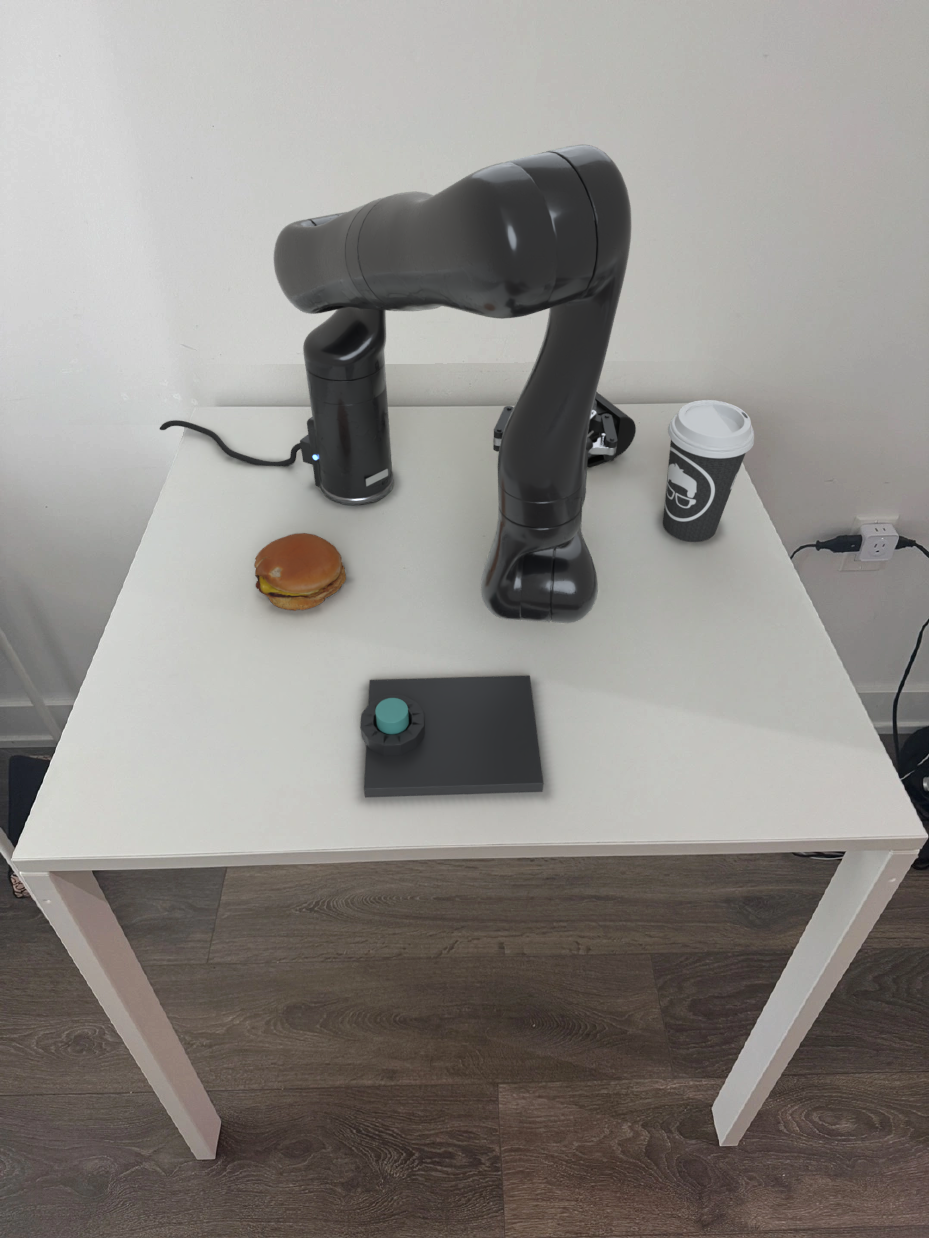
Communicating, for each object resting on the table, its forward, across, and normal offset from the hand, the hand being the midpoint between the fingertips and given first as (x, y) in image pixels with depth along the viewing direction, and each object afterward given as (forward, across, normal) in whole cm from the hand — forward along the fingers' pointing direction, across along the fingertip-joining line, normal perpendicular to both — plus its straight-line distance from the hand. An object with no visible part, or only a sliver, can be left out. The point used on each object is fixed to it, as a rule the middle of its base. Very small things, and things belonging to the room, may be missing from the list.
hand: (559, 399), depth 102 cm
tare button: (-43, +12, +10) cm, 46 cm away
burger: (-23, +27, +13) cm, 37 cm away
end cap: (+11, -5, +13) cm, 17 cm away
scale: (-42, +7, +13) cm, 44 cm away
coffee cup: (-5, -17, +13) cm, 22 cm away
